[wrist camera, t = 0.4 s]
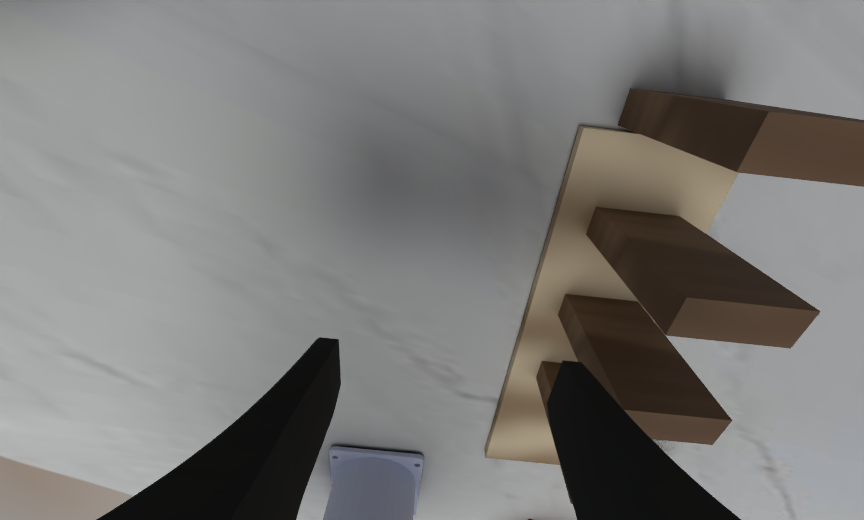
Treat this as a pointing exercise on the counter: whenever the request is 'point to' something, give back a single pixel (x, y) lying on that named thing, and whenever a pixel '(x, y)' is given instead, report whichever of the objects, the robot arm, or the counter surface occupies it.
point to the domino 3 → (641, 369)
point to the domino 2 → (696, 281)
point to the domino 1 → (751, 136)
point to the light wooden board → (592, 262)
